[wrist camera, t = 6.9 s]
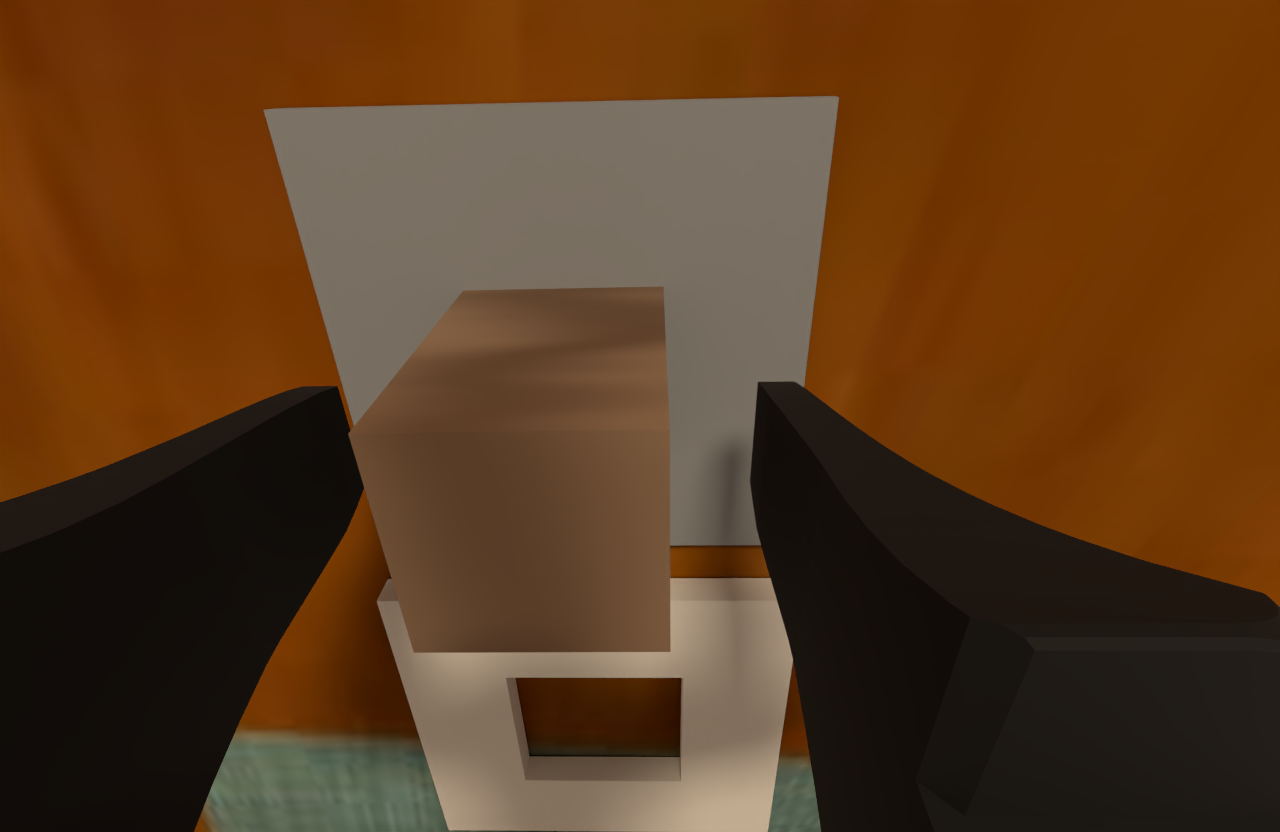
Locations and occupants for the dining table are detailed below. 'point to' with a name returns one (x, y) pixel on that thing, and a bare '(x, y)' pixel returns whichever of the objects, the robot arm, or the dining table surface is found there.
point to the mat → (579, 244)
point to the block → (528, 474)
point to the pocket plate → (612, 786)
